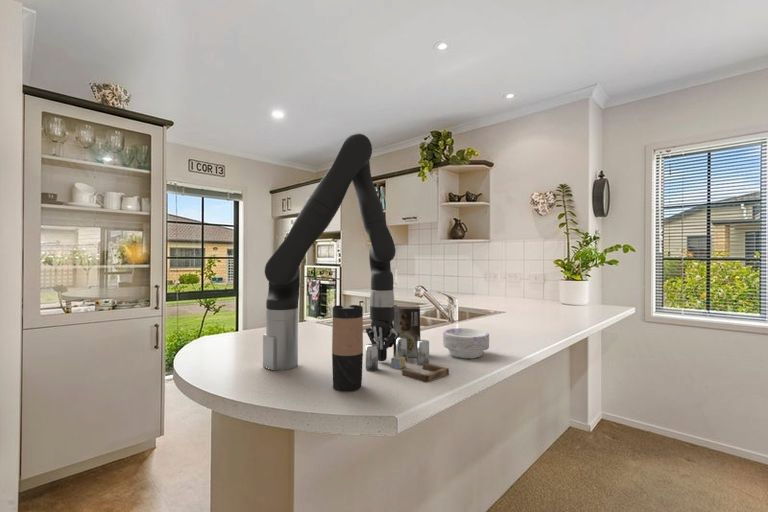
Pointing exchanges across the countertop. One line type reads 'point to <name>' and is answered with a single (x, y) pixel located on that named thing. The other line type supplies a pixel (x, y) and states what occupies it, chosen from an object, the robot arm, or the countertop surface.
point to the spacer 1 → (371, 357)
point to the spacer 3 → (422, 352)
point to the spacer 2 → (401, 347)
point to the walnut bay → (427, 377)
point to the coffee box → (407, 327)
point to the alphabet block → (398, 362)
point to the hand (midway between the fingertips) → (382, 360)
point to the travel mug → (347, 347)
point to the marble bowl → (465, 342)
